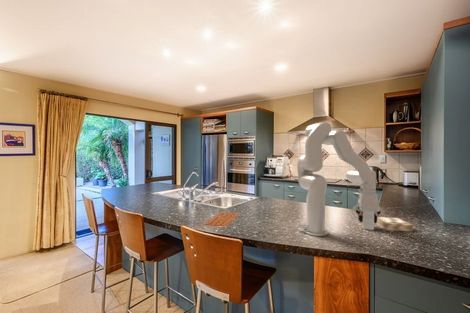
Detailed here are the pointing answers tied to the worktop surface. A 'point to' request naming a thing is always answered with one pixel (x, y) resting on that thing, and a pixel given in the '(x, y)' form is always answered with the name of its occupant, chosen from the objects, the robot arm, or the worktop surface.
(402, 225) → the maple plinth
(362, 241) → the worktop surface
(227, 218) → the wooden cutting board
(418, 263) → the worktop surface
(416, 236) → the worktop surface
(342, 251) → the worktop surface
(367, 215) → the small box
